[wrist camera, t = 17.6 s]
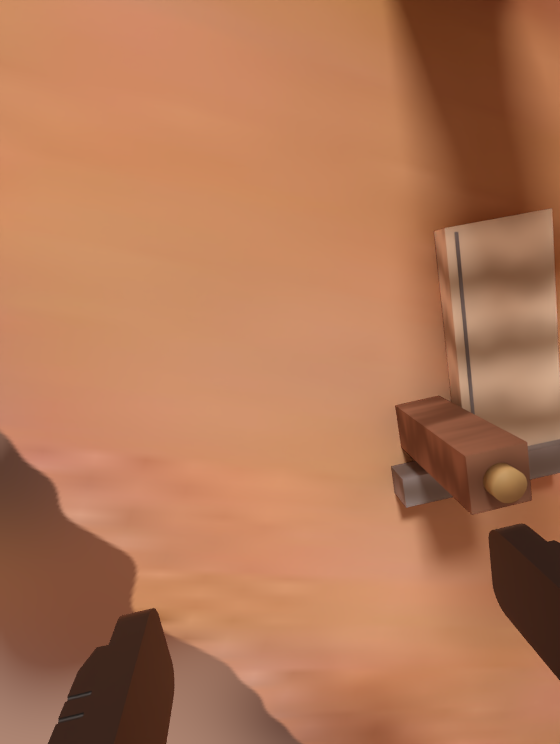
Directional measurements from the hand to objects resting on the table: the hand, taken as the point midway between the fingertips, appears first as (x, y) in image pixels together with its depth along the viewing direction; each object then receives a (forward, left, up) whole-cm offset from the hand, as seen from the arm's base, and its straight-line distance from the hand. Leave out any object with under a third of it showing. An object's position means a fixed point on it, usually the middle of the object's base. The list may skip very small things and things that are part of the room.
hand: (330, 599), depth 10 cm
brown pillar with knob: (-6, +16, -30) cm, 35 cm away
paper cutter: (-13, +15, -30) cm, 36 cm away
